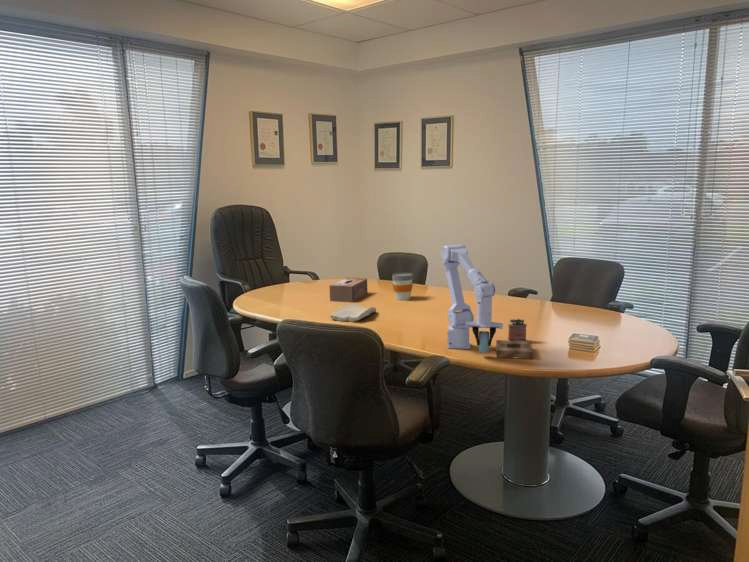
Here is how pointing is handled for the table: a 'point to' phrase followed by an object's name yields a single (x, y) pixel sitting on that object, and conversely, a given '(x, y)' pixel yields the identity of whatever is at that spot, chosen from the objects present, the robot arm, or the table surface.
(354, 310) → the folded grey cloth
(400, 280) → the reusable coffee cup
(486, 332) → the peg
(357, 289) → the tissue box cover
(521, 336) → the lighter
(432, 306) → the table surface
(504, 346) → the socket block
